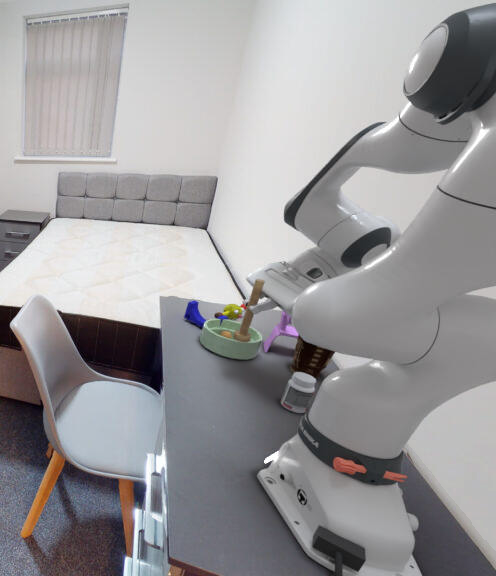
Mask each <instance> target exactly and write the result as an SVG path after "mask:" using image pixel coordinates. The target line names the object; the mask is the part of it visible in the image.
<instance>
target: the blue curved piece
mask: <svg viewBox="0 0 496 576" xmlns="http://www.w3.org/2000/svg"><path fill="white" fill-rule="evenodd" d="M199 304H200V303H199V301H197V300H190V301H188V302H187V305H186V308H185V312H184V315H183V318H184V319H186V320H188V321H189V322H191V323H193V324H195V325H197V326H198V327H200V328H202V329H203V325H204V323H205V321H207V320H208V319H205V317H203V316H202V314H201V313H200V311H199ZM217 319H220V320H221V322H220V325H221V323H222V321H223V320H224V319H227V320H228V317H227V316H225V315H223V316H219V317H217ZM219 327H220V326H219Z"/></svg>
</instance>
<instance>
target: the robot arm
mask: <svg viewBox="0 0 496 576" xmlns="http://www.w3.org/2000/svg"><path fill="white" fill-rule="evenodd" d="M404 74H405V75H404V78H403V83H402V94H403V95H404V96H405V98H406V99H407V100H406V101H405V103H404V104H403V106H402V107H401V108H400V109H399V111H398V112H397V113H396V114H395V115H394V116H393V117H392V118H391V119H389V120H388V121H378V122H375V123H372V124H370V125H369V126H367V127H365V128H363V129H362V130H361V131H359V132H358V133H356V134H354V136H352V137H351V138H350V139H349V140H348V141H347V142H345V144H343V146H342V147H341V148H340V149H339V150H338V151H337V152H336V153H335V154H334V155H333V156H332V157H331V158H330V159H329V160H328V161H327V162H326V164H325V165H324V166H323V167H322V168H321V169H320V170H319V171H318V172H317V173H316V174H315V175H314V176H313V178H312V179H311V180H310V181H309V182H308V183H307V184H306V185H305V186H304V187H302V188H301V189H300V190H299V191H298V192H296V194H295V195H293V196H292V197H291V198H290V199H289V200H288V201H287V202H286V204H285V206H284V209H283V221H284V223H285V224H287V225H288V226H289V227H290V228H292V229H294V230H295V231H297V232H299V233H301V234H302V235H303V236H304V237H305V238H307V239H308V240H310V242H312V243H313V244H314V245H315V246H314V247H310V248H308V249H306V250H305V251H302V252H301V253H299V254H297V256H295V257H293V258H291V259H290V260H288V261H286V260H282V261H275V262H270V263H267V264H266V265H264V266H262V267H259V268H258V269H256V270H254V271H252V272H250V273H249V274H247V276H246V278H245V280H246V282H247V283H248V284H249V286H251V288H253V286H254V283H255V280H256V279H261V280H264V281H265V283H264V286H263V289H262V292H261V295H260V298H259V300H262V299H264V298H266V299H264V301H262V302H260V303H259V302H258V304H256V303H254V304H253V305H251V306H249V309H250V310H251V312H253V313H254V315H258V314H260V313H262V312H265V311H269V310H270V311H271V310H274V309H275V308H277V307H278V308H279V309H280V310H281V311H284V312H286V313H287V314H288V315H289V316H291V317H292V318H291V321H292V324H293V327H295V329H296V331H297V332H298V334H299V335H300V336H301V338H302V339H303V340H304V341H306V342H308V343H311V344H314V345H317V346H319V347H322V348H325V349H328V350H331V351H334V352H335V353H338V354H340V355H346V356H351V357H358V358H362V359H367V360H368V359H370V361H368V362H365V363H363V364H360V365H356V366H351V367H346V368H341V369H338V370H336V371H333V372H331V373H329V375H327V376H326V377H325V378H324V379H323V381H322V383H321V384H320V387H319V389H318V391H317V394H316V395H315V398H314V400H313V403H312V405H311V407H310V408H309V409H307V410H306V412H304V413H303V415H302V416H301V419H300V420H299V424H298V427H297V433H295V435H294V436H293V437H291V438H290V439H288V440H287V441H285V442H284V443H282V444H281V446H280V448H279V450H278V451H276V452H275V453H273V454H271V455H270V456H268V457H266V458H264V459H265V460H264V464H267V463H269V462H271V463H270V465H269V466H268V467H266V468H264V469H263V468H262V469H261V470H259V472H258V473H257V475H256V478H257V480H258V481H259V483H260V484H261V486H262V487H263V490H264V491H265V493H267V496H268V497H269V498H270V500H271V502H272V503H273V505H274V506H275V507H276V509H277V511H278V512H279V514H280V516H281V517H282V519H283V521H284V522H285V524H286V525H287V526H288V528H289V530H290V531H291V533H292V535H293V536H294V537H295V539H296V541H297V543H299V545H300V547H301V548H302V550H303V551H304V553H305V554H306V555H307V556H308V557H309V558H310V559H312V560H313V561H315V562H316V563H318V564H319V565H321V566H323V567H324V568H327V569H328V570H330V571H332V572H333V573H334V576H423V574H422V572H421V570H420V568H419V566H418V564H417V562H416V559H415V558H414V555H413V553H414V552H413V551H414V549H415V546H416V545H415V543H416V538H415V535H414V532H416V531H417V530H418V529H419V525H420V524H419V519H418V518H417V516H416V515H414V514H412V513H409V512H407V509H406V506H405V502H404V498H403V494H404V493H403V489H402V488H400V486H399V482H402V483H405V480H404V479H407V478H408V476H407V475H405V474H402V468H403V466H404V451H403V450H404V448H405V447H406V445H407V443H408V442H409V441H410V439H411V437H412V436H413V435H414V434H415V432H416V430H417V429H418V428H419V426H420V425H421V424H422V422H423V421H424V420H425V419H426V417H427V416H429V415H430V414H431V413H432V412H434V411H435V410H436V409H437V408H438V407H441V406H442V405H443V404H445V403H446V402H448V401H450V400H452V399H453V398H456V397H458V396H459V395H461V394H463V393H466V392H467V391H470V390H473V389H475V388H477V387H480V386H484V385H486V384H489V383H493V382H496V299H495V298H492V297H487V296H483V295H478V294H470V293H471V292H475V291H478V290H482V289H488V288H493V287H496V2H492V3H487V4H486V3H485V4H482V5H478V6H477V5H476V6H473V7H469V8H466V9H463V10H460V11H457V12H454V13H452V14H451V15H449V16H448V17H447V18H445V19H444V20H443V21H441V22H440V23H438V24H437V25H436V26H435V27H434V28H433V29H431V31H430V32H429V33H428V34H427V35H426V36H425V37H424V39H423V41H422V42H421V43H420V45H419V46H418V47H417V49H416V50H415V52H414V53H413V55H412V56H411V58H410V60H409V62H408V65H407V67H406V70H405V73H404ZM361 168H371V169H377V170H382V171H386V172H389V173H394V174H401V175H422V174H431V173H437V172H441V171H446V170H447V171H446V172H445V173H444V174H443V176H442V178H441V179H440V181H439V182H438V183H437V185H436V187H435V188H434V190H433V191H432V193H431V194H430V195H429V197H428V199H427V200H426V201H425V203H424V204H423V205H422V207H421V209H420V210H419V211H418V213H416V215H415V216H414V218H413V220H412V221H411V222H410V223H409V225H407V227H406V228H405V230H404V231H403V232H401V230H400V228H399V227H398V226H397V224H396V223H394V222H393V220H391V219H389V218H388V217H385V216H383V215H378V214H374V215H373V214H372V213H371V212H370V211H368V210H366V209H364V208H363V207H361V206H360V205H358V204H357V203H355V202H354V201H352V200H351V199H349V198H348V197H347V196H346V195H345V194H344V193H343V191H342V188H341V187H342V186H343V185H344V184H346V182H348V181H349V180H350V178H351V177H353V176H354V175H355V174H356V173H357V172H358V171H359V170H360V169H361ZM250 296H251V294H250V295H249V296H248V297H247V298H246V299H244V300H243V301H242V304H244V305H245V306H246V307H247V305H248V302H249V299H250Z"/></svg>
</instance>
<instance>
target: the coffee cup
mask: <svg viewBox="0 0 496 576" xmlns="http://www.w3.org/2000/svg"><path fill="white" fill-rule="evenodd" d="M297 333H298V332H297ZM335 354H336V352H334V351H331V350H328V349H325V348H322V347H319V346H317V345H314V344H311V343H308V342H306V341H304V340H303V339H302V338H301V336H300V335H299V334H298V339H297V341H296V343H295V347H294V353H293V356H292V360H291V361H292V363H291V365H290V367H289V368H290V370H291V372H292V373H293V374H294V373H295V372H302V373H306V374H308V375H311V376H312V377H314V378H315V379H316V380H317V379H320V378H321V377H322V373H321V372H322V371H323V370H325V369H326V368H327V366H328V365H329V363H330V361H331V360H332V358H333V357H334V355H335Z"/></svg>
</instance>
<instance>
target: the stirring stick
mask: <svg viewBox="0 0 496 576" xmlns="http://www.w3.org/2000/svg"><path fill="white" fill-rule="evenodd" d="M264 283H265V281H264V280H261V279H256V280H255V283H254V286H253V287H252V290H251V293H250V295H251V296H250V295H249V296H250V299H249V302H248V305H247V308H246V310H244V315H243V318H242V321H241V322H240V323H241V327H240V330H235V331H234V334H233V338H234V339H235V340H237V341H240V342H249V341H250V339H251V334H250V333H248V331H249V328H250V327H251V325H252V322H253V319H254V316H255V314H254V313H253V312H251V310H250V309H249V306H251V305H253V304H254V303H256V304H259V302H260V301H259V300H260V299H259V298H260V295H261V292H262V289H263V286H264Z"/></svg>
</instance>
